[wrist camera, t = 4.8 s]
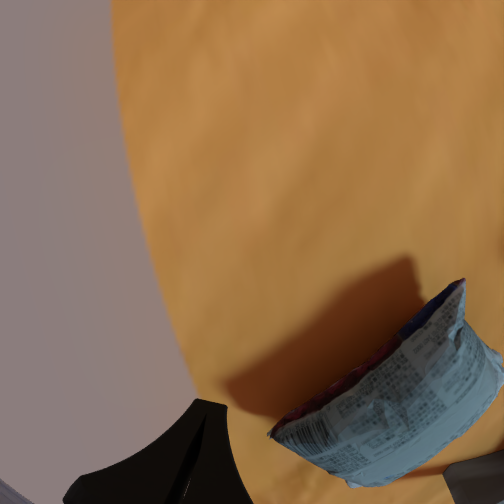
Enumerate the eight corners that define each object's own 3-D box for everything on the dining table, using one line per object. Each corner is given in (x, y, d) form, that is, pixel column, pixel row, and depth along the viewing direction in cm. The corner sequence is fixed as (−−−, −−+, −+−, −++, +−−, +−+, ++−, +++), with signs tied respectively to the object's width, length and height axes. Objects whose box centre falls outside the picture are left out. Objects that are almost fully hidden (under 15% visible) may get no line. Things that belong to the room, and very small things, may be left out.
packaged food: (491, 357, 13) (533, 399, 8) (347, 467, 15) (356, 523, 10) (436, 259, 12) (498, 291, 7) (258, 406, 15) (249, 476, 10)
